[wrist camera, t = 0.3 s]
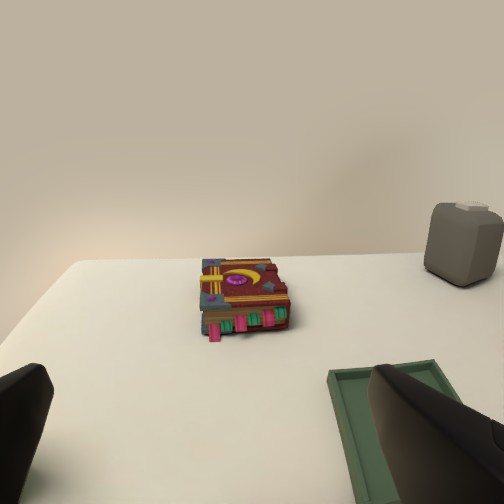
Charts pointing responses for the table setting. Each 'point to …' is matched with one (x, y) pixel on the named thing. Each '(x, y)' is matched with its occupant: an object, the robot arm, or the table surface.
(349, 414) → the serving tray
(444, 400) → the robot arm
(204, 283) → the decorative book
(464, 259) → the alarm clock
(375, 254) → the table surface
